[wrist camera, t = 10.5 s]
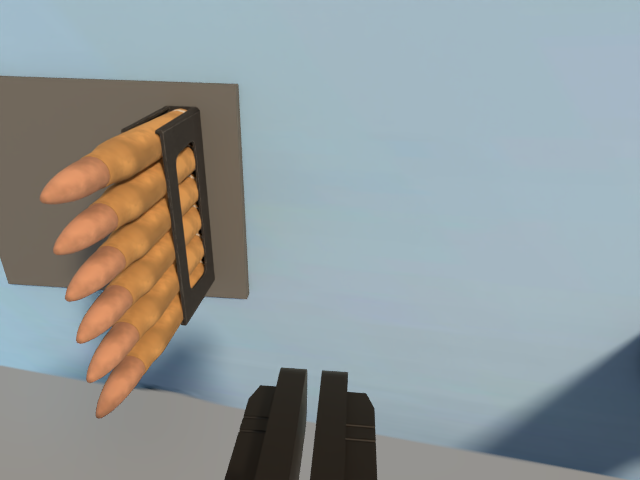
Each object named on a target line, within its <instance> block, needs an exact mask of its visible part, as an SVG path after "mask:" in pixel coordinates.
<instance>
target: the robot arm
mask: <svg viewBox="0 0 640 480" xmlns="http://www.w3.org/2000/svg"><path fill="white" fill-rule="evenodd" d="M347 383H348V372H337V371H323V370H322V376H321V385H320V394H319V403H318V412H317V421H316V431H315V439H314V449H313V458H312V467H311V476H310V480H377V465H376V443H375V441H376V439H375V412H374V407H373V405H372V403H371V402H370V400H369V398H368V396H367V394H366V393H355V392H347ZM306 416H307V369H295V368H281V369H280V373H279V377H278V381H277V386H276V387H275V386H262V385H260V386H259V388H258V389H257V390H256V391H255V392H254V393H253V395H252V396H251V397H250V398H249V400H248V403H247V406H246V410H245V414H244V418H243V420H242V424H241V426H240V432H239V433H238V436H237V440H236V443H235V447H234V450H233V453H232V456H231V460H230V463H229V466H228V470H227V473H226V476H225V480H299V473H300V466H301V458H302V451H303V443H304V436H305V427H306Z"/></svg>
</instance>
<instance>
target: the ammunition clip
mask: <svg viewBox="0 0 640 480" xmlns="http://www.w3.org/2000/svg"><path fill="white" fill-rule="evenodd" d="M113 183H115V184H113ZM111 184H113V185H111ZM109 185H111V186H110V187H109V188H107V189H106V190H105V192H104V193H103V194H102V196H101V197H100V198H99V199H98V200H96V201H95V202H94V203H92V204H91V205H90V206H89V207H88V208H87V209H85V210H84V211H82V212H81V213H80V214H78V215H77V216H76V217H75V218H74V219H73V220H72V221H71V222H70V223H69V224H68V225H67V226H66V227H65V228H64V230H63V231H62V232H61V234H60V235H59V237H58V238H57V240H56V242H55V244H54V248H53V252H54V254H56V255H67V254H72V253H75V252H78V251H81V250H83V249H85V248H88V247H90V246H91V245H93V244H95V243H97V242H98V241H100V240H102V239H104V238H105V237H106V236H108V235H109V234H110V233H111V234H110V236H109V237H108V239H107V240H106V241H105V242H104V243H103V244H102V245H101V246H100V247H99V248H98V249H97V251H96V252H95V253H93V254H92V255H91V256H90V257H89V258H88V259H87V260H86V261H85V262H84V264H83V265H82V266H81V267H80V268H79V270H78V271H77V272H76V274H75V275H74V277H73V278H72V280H71V282H70V284H69V285H68V288H67V291H66V295H65V299H66V300H67V301H69V302H70V301H76V300H80V299H82V298H85V297H87V296H89V295H91V294H93V293H94V292H96V291H98V290H99V289H101V288H103V287H104V286H105V285H107V284H108V283H109V282H110V284H109V285H108V286H107V287H106V288H105V290H104V291H103V292H102V293H101V295H100V296H99V297H98V298H97V299H96V300H95V302H94V303H93V304H92V306H91V307H90V308H89V310H88V311H87V313H86V314H85V316H84V318H83V320H82V322H81V324H80V326H79V329H78V332H77V337H76V341H77V343H80V344H81V343H85V342H88V341H90V340H92V339H94V338H96V337H97V336H99V335H100V334H102V333H103V332H105V331H106V330H108V329H109V328H110V327H111V326H112V325H113V326H112V328H111V329H110V331H109V332H108V333H107V334H106V336H105V337H104V338H103V340H102V341H101V343H100V344H99V346H98V348H97V349H96V351H95V353H94V355H93V357H92V360H91V362H90V365H89V367H88V371H87V377H86V380H87V382H88V383H92V382H94V381H96V380H98V379H100V378H102V377H103V376H105V375H106V374H107V373H109V372H110V371H111V370H112V369H113V371H112V372H111V374H110V376H109V377H108V379H107V381H106V383H105V385H104V387H103V389H102V392H101V394H100V397H99V400H98V403H97V408H96V417H97V418H102V417H104V416H106V415H107V414H109V413H110V412H111V411H113V410H114V409H115V408H116V407H117V406H118V405H119V404H120V403H121V402H122V401H123V400H124V399H125V398H126V397H127V396H128V395H129V394H130V393H131V391H132V390H133V389H134V388H135V386H136V385H137V384H138V382H139V381H140V379H141V378H142V376H143V375H144V374H145V373H146V371H147V370H148V368H149V367H150V366H151V364H152V363H153V362H154V361H155V360H156V359H157V358H158V357H159V356H160V355H161V354H162V352H163V351H164V350H165V348H166V346H167V345H168V343H169V342H170V340H171V338H172V337H173V335H174V334H175V332H176V330H177V329H178V327H179V325H180V324H181V325H187V324H188V322H189V320H190V319H191V317H192V316H193V314H194V312H195V311H196V309H197V308H198V306H199V305H200V303H201V301H202V300H203V298H204V297H205V295H206V293H207V292H208V290H209V289H210V287H211V285H212V284H213V282H214V281H215V274H214V262H213V251H212V240H211V229H210V218H209V206H208V195H207V184H206V173H205V161H204V150H203V139H202V128H201V117H200V110H199V109H198V107H189V106H164V107H163V108H161V109H159V110H157V111H155V112H153V113H151V114H150V115H148V116H146V117H144V118H142V119H140V120H138V121H136V122H135V123H133V124H131V125H129V126H127V127H125V128H123V129H121V134H120V135H117V136H115V137H113V138H111V139H109V140H106V141H105V142H103V143H101V144H100V145H98V146H97V147H96V148H95V149H94V150H93V151H92V152H91V153H89V154H88V155H86V156H84V157H82V158H81V159H80V160H78V161H76V162H74V163H72V164H71V165H69V166H67V167H66V168H64V169H63V170H62V171H60V172H59V173H57V174H56V175H55V176H54V177H53V178H52V179H51V180H50V181H49V182H48V183H47V185H46V186H45V187H44V189H43V191H42V192H41V195H40V201H41V202H42V203H44V204H62V203H67V202H72V201H76V200H79V199H82V198H84V197H87V196H89V195H91V194H93V193H95V192H96V191H98V190H100V189H103V188H105V187H107V186H109Z"/></svg>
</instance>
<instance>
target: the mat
mask: <svg viewBox="0 0 640 480" xmlns="http://www.w3.org/2000/svg"><path fill="white" fill-rule="evenodd" d="M164 106H189V107H198V109H199V110H200V117H201V128H202V139H203V150H204V161H205V173H206V184H207V195H208V206H209V218H210V229H211V240H212V251H213V262H214V274H215V281H214V282H213V284H212V285H211V287H210V289H209V290H208V292H207V293H206V295H205V296H208V297H224V298H239V299H247V298H248V295H249V283H248V263H247V244H246V225H245V205H244V186H243V167H242V147H241V128H240V109H239V89H238V84H221V83H192V82H162V81H133V80H104V79H74V78H45V77H16V76H0V258H1V261H2V264H3V267H4V271H5V274H6V277H7V280H8V283H9V284H22V285H37V286H53V287H68V285H69V284H70V282H71V280H72V278H73V277H74V275H75V274H76V272H77V271H78V270H79V268H80V267H81V266H82V265H83V264H84V262H85V261H86V260H87V259H88V258H89V257H90V256H91V255H92V254H93V253H95V252H96V251H97V249H98V248H99V247H100V246H101V245H102V244H103V243H104V242H105V241H106V240H107V239H108V237H109V236H110V234H111V233H110V234H109V235H108V236H106V237H105V238H104V239H102V240H100V241H98V242H97V243H95V244H93V245H91V246H90V247H88V248H85V249H83V250H81V251H78V252H75V253H72V254H67V255H56V254H54V252H53V248H54V244H55V242H56V240H57V238H58V237H59V235H60V234H61V232H62V231H63V230H64V228H65V227H66V226H67V225H68V224H69V223H70V222H71V221H72V220H73V219H74V218H75V217H76V216H77V215H78V214H80V213H81V212H82V211H84V210H85V209H87V208H88V207H89V206H90V205H91V204H92V203H94V202H95V201H96V200H98V199H99V198H100V197H101V196H102V194H103V193H104V192H105V190H106V189H107V188H109V187H110V186H111V185H113V184H115V183H113V184H111V185H109V186H107V187H105V188H103V189H100V190H98V191H96V192H95V193H93V194H91V195H89V196H87V197H84V198H82V199H79V200H76V201H72V202H67V203H62V204H44V203H42V202H41V201H40V195H41V192H42V191H43V189H44V187H45V186H46V185H47V183H48V182H49V181H50V180H51V179H52V178H53V177H54V176H55V175H56V174H57V173H59V172H60V171H62V170H63V169H64V168H66V167H67V166H69V165H71V164H72V163H74V162H76V161H78V160H80V159H81V158H82V157H84V156H86V155H88V154H89V153H91V152H92V151H93V150H94V149H95V148H96V147H97V146H98V145H100V144H101V143H103V142H105V141H106V140H109V139H111V138H113V137H115V136H117V135H120V134H121V129H123V128H125V127H127V126H129V125H131V124H133V123H135V122H136V121H138V120H140V119H142V118H144V117H146V116H148V115H150V114H151V113H153V112H155V111H157V110H159V109H161V108H163V107H164ZM109 284H110V282H109V283H108V284H107V285H105V286H104V287H103V288H101V289H100V290H105V288H106V287H107V286H108V285H109Z"/></svg>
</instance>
